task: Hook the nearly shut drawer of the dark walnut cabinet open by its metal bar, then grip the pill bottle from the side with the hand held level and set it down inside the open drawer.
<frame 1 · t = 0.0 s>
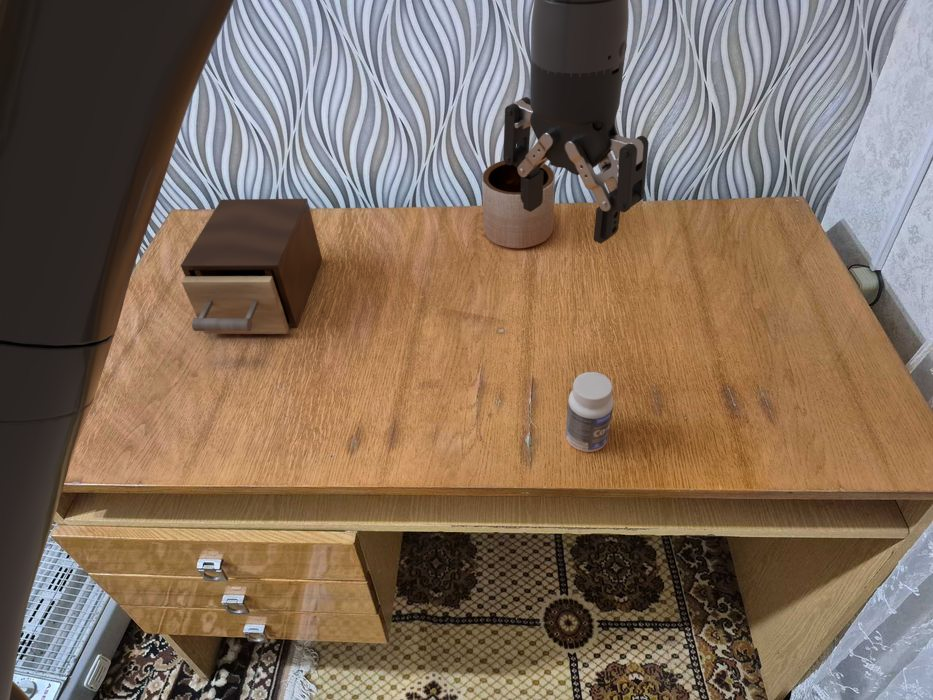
hand: (567, 222, 64), 23 cm above the table, tool pointing down, fingers open, 8 cm apart
pill bottle: (586, 437, 74), on the table
planter: (518, 231, 104), on the table
drawer: (246, 285, 88), point 5 cm above the table, slide at 1.0 cm
cabinet: (268, 291, 96), on the table
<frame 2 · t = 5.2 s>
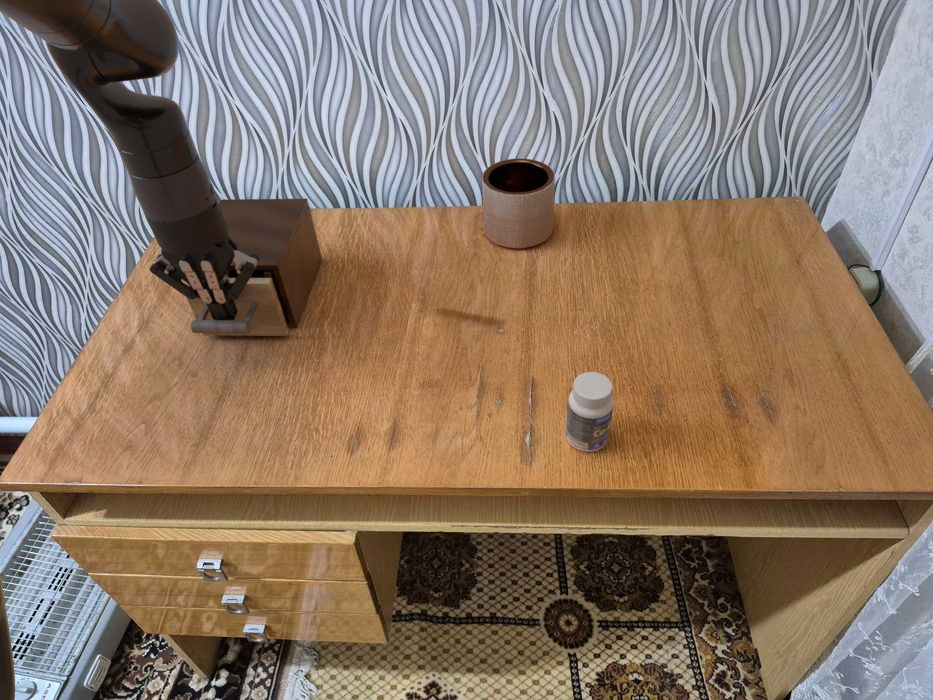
hand: (228, 320, 83), 6 cm above the table, tool pointing down, fingers closed
drawer: (245, 287, 88), point 5 cm above the table, slide at 1.4 cm, touching gripper
everything else where it was.
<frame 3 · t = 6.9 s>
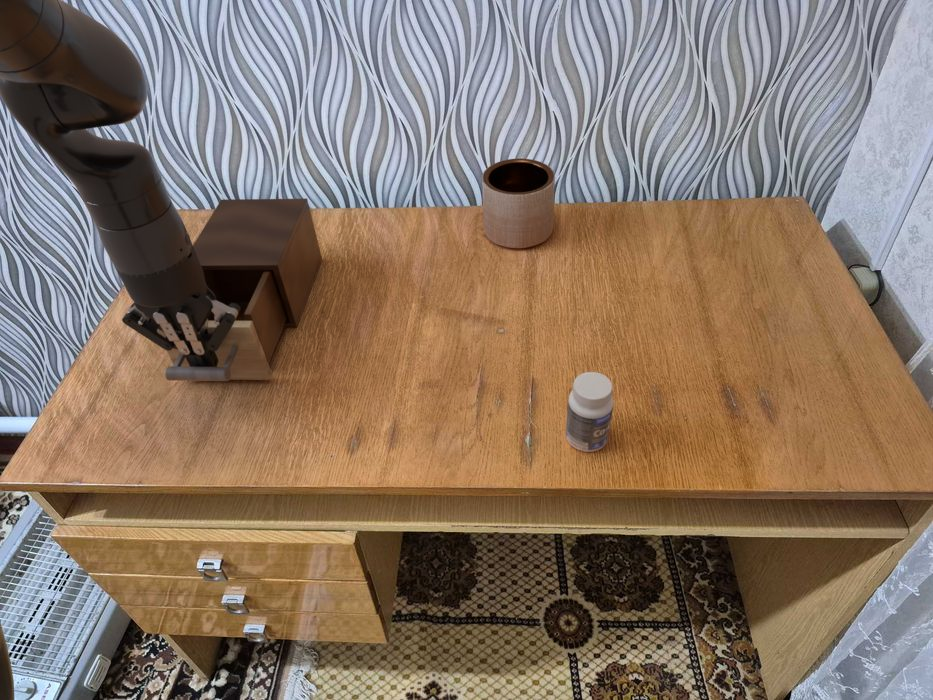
hand: (208, 370, 78), 5 cm above the table, tool pointing down, fingers closed
drawer: (226, 327, 82), point 5 cm above the table, slide at 9.3 cm
everything else where it was.
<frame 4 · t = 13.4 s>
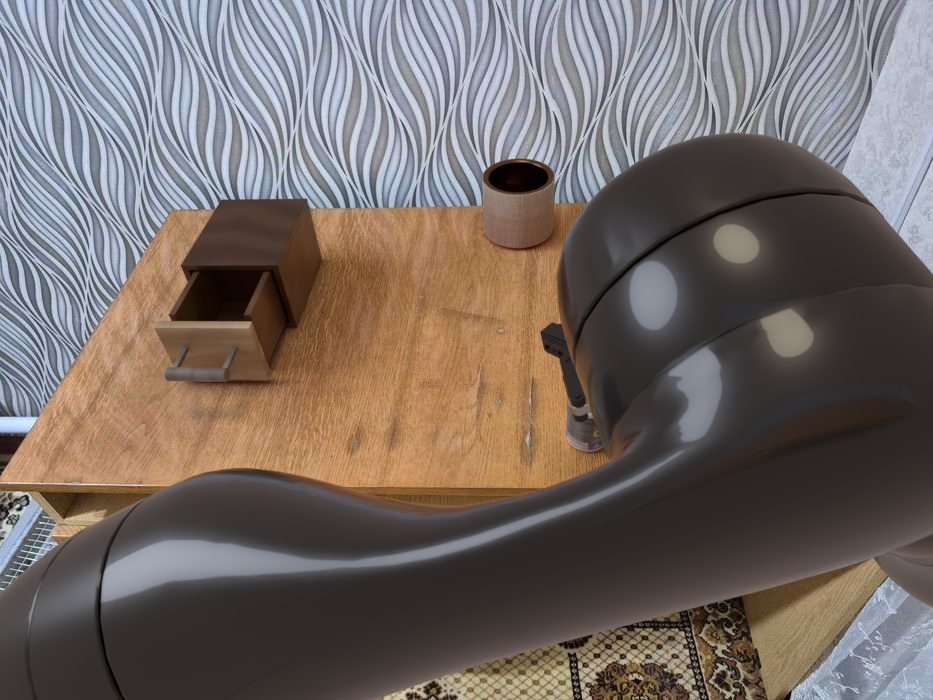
hand: (546, 334, 62), 17 cm above the table, tool horizontal, fingers closed
nothing on the table moved.
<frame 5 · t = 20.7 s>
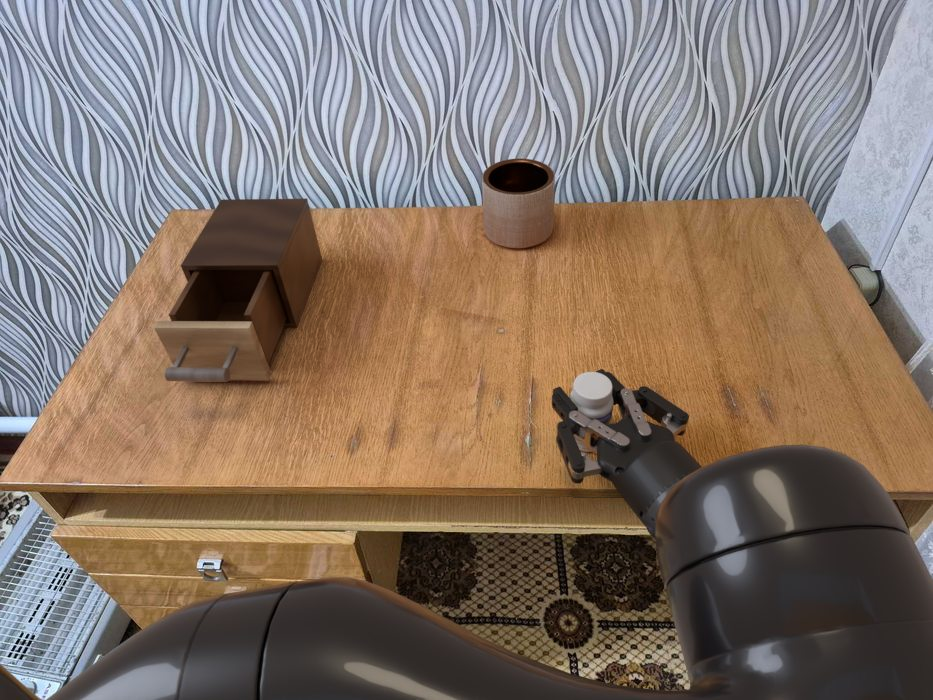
hand: (577, 384, 71), 6 cm above the table, tool horizontal, fingers closed on pill bottle, 4 cm apart
pill bottle: (586, 437, 74), on the table, touching gripper
everything else where it was.
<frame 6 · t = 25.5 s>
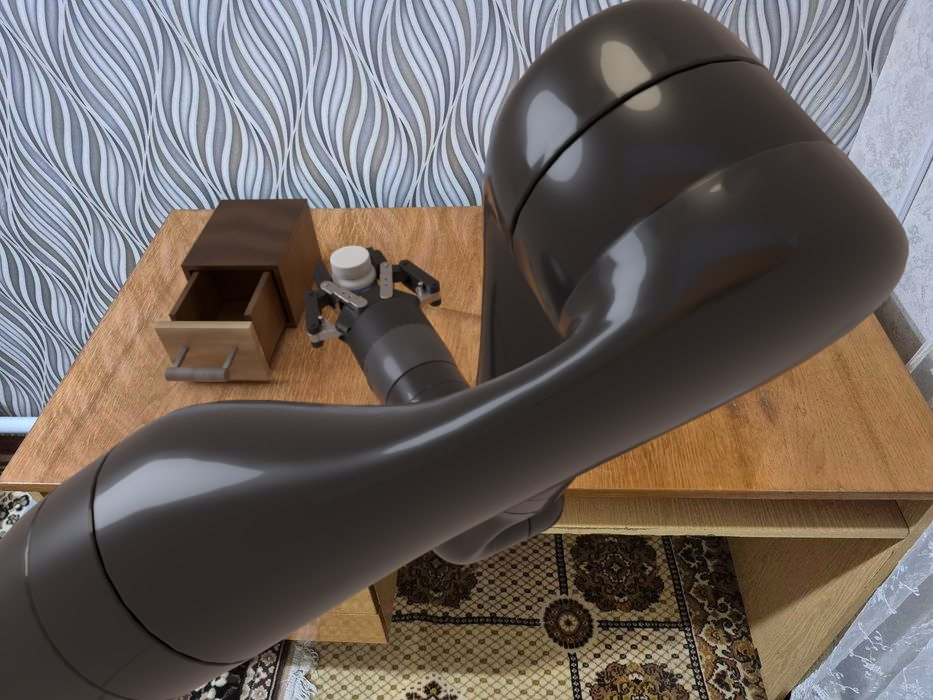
hand: (345, 262, 70), 18 cm above the table, tool horizontal, fingers closed on pill bottle, 4 cm apart
pill bottle: (363, 320, 72), point 12 cm above the table, touching gripper
everything else where it was.
when the fingers open (11 cm above the table, at t = 30.4 s): pill bottle drops 3 cm, resting on drawer.
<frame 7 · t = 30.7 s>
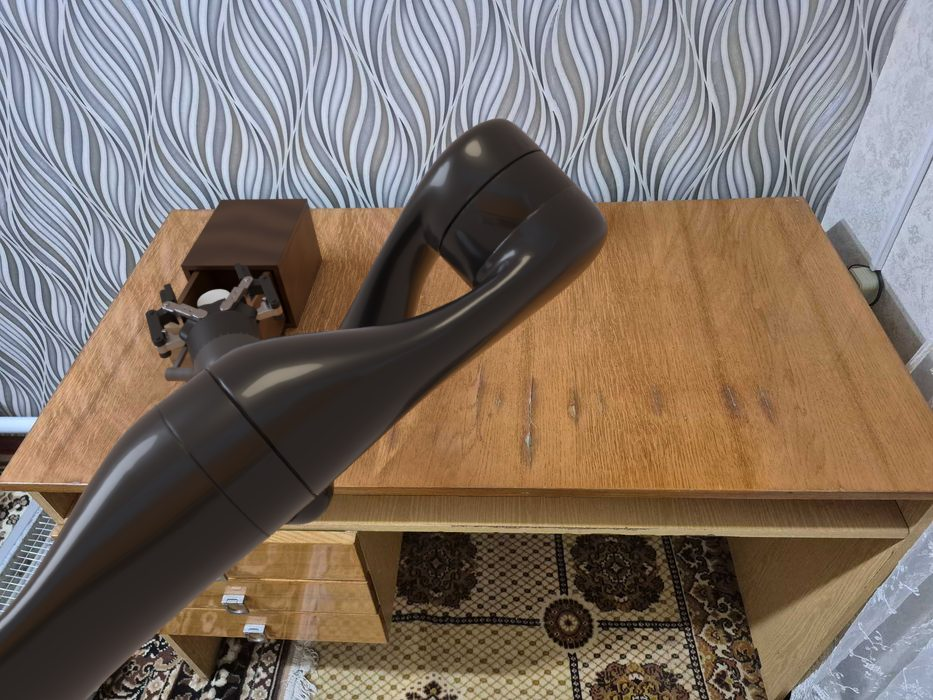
hand: (204, 279, 79), 12 cm above the table, tool horizontal, fingers open, 7 cm apart
pill bottle: (235, 349, 84), point 2 cm above the table, touching drawer
drawer: (226, 328, 82), point 5 cm above the table, slide at 9.5 cm, touching pill bottle
everything else where it was.
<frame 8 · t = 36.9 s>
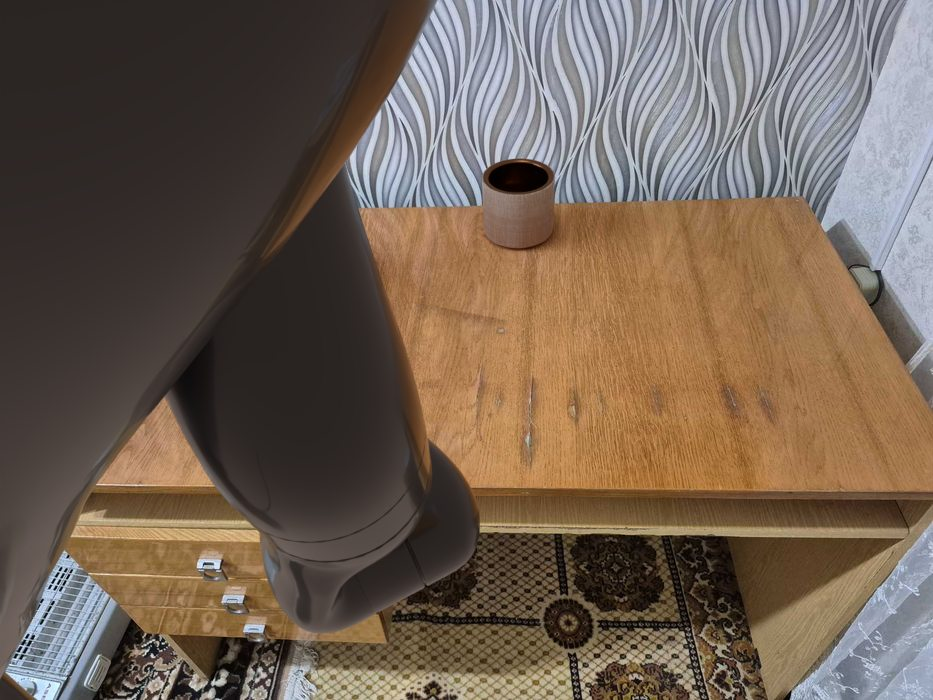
hand: (233, 218, 54), 30 cm above the table, tool horizontal, fingers open, 8 cm apart
nothing on the table moved.
at the end: drawer slide at 9.4 cm; pill bottle inside the target area in the drawer (0.8 cm from its centre), point 1.8 cm above the cabinet's base; the gripper is holding nothing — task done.
